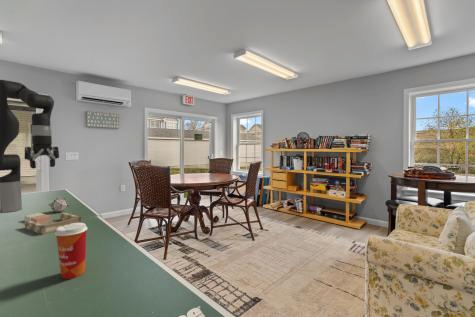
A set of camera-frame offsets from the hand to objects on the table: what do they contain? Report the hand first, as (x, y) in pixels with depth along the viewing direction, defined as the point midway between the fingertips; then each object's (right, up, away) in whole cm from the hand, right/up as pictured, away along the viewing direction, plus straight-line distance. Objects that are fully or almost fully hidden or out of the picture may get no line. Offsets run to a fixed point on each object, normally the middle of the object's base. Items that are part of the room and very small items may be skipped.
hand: (43, 167), depth 117 cm
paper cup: (+50, -29, -49) cm, 76 cm away
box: (+11, -27, -7) cm, 30 cm away
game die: (-5, -26, +17) cm, 32 cm away
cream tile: (-6, -27, +2) cm, 28 cm away
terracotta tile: (0, -27, -1) cm, 27 cm away
